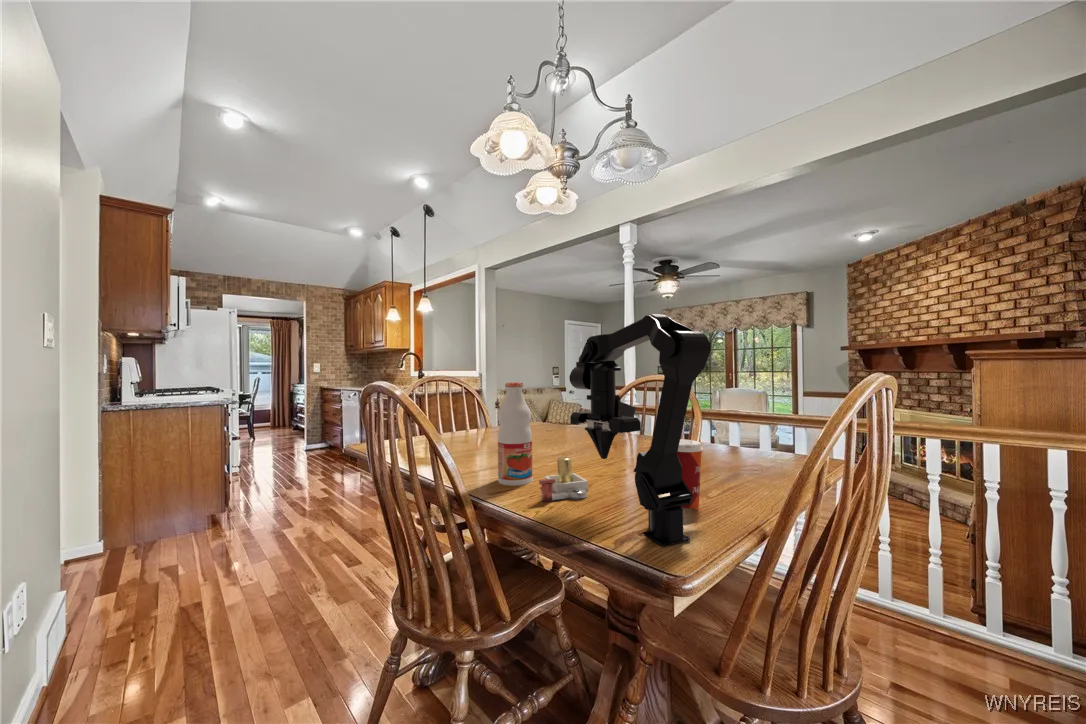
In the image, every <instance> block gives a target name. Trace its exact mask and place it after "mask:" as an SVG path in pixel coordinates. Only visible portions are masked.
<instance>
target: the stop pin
mask: <svg viewBox="0 0 1086 724" xmlns="http://www.w3.org/2000/svg"><path fill="white" fill-rule="evenodd" d="M556 464H557V475H558V480H559V484H560V483H568V482H573V479H572V473H573V467H572V465H573V464H572V458H571V457H569V456H562V457H561V456H560V457H557V458H556Z"/></svg>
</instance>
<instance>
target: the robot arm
mask: <svg viewBox="0 0 1086 724" xmlns="http://www.w3.org/2000/svg"><path fill="white" fill-rule="evenodd" d="M646 342H650V345H651V346H652V347H653V348H654V349H656V350H657V351H658V352H659V354H658V355H659V356H658V357H659V358H658V363H659V366H660V368H661V371H662V374H663V384H662V387H661V388H662V389H661V391H660V392H661V393H660V397H659V405H658V408H657V414H656V417H655V418H656V419H655V422H654V423H655V424H654V427H653V432H652V438H651V443H650V447H649V449H648V450H647V451H644V452H643V451H641V452H638V453H637V456H636V463H635V468H633V472H634V483H635V488H636V493H637V496H638V500H639V501H638V502H639V505H640V506H642V507H643V508H644V510H648V528H649V530H648V531H647V530H646V531H643V532H642V535H644V536H645V537H647V538H649V539H650V540H651V541H653V542H654V543H656V544H658V545H659V546H662V547H665V546H671V545H676V544H681V543H685V542H690V541H691V537H690V536H689V535H686V534H685V533H684V508H682V507H681V506H683V505H690V504H691V501H692V498H693V494H692V493H691V491H690V490H689V488H688V486H687V485H686V483H685V482H684V480H683V479H682V477H681V476H682V466H681V463H680V460H679V458H678V455H677V452H678V447H679V443H680V439H681V438H682V433H683V428H684V423H685V418H686V415H687V409H688V407H689V400H690V396H691V392H692V387H693V383H694V381H695V380H696V379H697V378H698V376H699V375H700V374H701V373H702V371H704V369H705V368H706V366H707V362H708V359H709V356H710V354H711V350H712V344H711V341H710V340H709V338H708V336H707V335H706V334H705V333H703V332H702V331H696V330H695V329H693V328H691V327H690V326H687V325H685V324H683V323H680V322H677V321H676V320H674V319H673V318H671V317H670V316H668V315H667V314H656V313H654V314H653V313H650V314H646V315H644V316H643V318H641V319H639V320H637V321H635V322H632V323H631V324H628V325H626V326H624V327H622V328H620V329H617V330H615V331H614V332H611V333H606V334H604V333H603V334H597V335H592V336H589V337H588V338H587V340H586V342H585V344H584V346H583V348H582V352H581V354H580V356H579V357H578V361H576V362H575V367H573V369H572V370H571V371H570V374H569V376H568V377H569V383H570V384H571V386H572V387H573V388H575V389H577V390H589V391H590V394H588V395H586V400H589V401H590V411H589V410H585V411H583V410H582V411H573V412H572V413H571V414H570V425H576V426H578V425H580V424H582V423H583V424H584V423H586V424H587V426H586V427H584V430H585V431H587V434H588V435H589V437H590V439H591V441H592V442H593V444H594V446H595V449H596V451H597V452H598V455H599V457H600V459H601V460H607V459H608V456H609V454H610V450H611V447H612V445H613V441H614V440H615V437H616V436H617V435H618V434H625V433H632V432H641V431H642V427H641V426H642V422H641V420H640V419H639V418H638V417H635V413H636V409H637V408H636V406H633V405H631V404H628V403H626V402H622V401H621V400H622V399H621V396H620V394H616V372H619V371H620V372H621V370H622V368H621V367H620V365H618V364H617V363H616V361H617V360H618V359H619V358H620V357H622V356H623V355H624V352H625V351H626V350H629V349H631V348H634V347H636V346H638V345H640V344H643V343H646ZM666 494H669V495H666ZM661 495H662V496H661ZM663 495H665V496H663ZM659 496H660V497H659Z"/></svg>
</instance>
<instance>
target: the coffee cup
mask: <svg viewBox="0 0 1086 724" xmlns="http://www.w3.org/2000/svg"><path fill="white" fill-rule="evenodd" d="M703 451H704V448H703V446H702V443H701V442H700V441H697V440H694V439H693V440H692V439H684V438H683V439H681V438H680V443H679V447H678V452H677V455H678V458H679V460H680V463H681V466H682V476H681V477H682V479H683V480H684V482H685V483H686V485H687V486H688V488H689V490H690V491H691V493H692V494H693V498H692V501H691V504H690V505H683V506H681V508H683V509H693V510H695V511H699V507H700V494H701V493H700V492H701V491H700V490H701V473H702V472H701V469H702V452H703Z"/></svg>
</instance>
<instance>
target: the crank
mask: <svg viewBox="0 0 1086 724" xmlns="http://www.w3.org/2000/svg"><path fill="white" fill-rule="evenodd" d="M538 483H539V485H540V486H541V502H543V503H551V502H553V501H557V500H564V499H566V500H567V499H570V500H575V501H578V500H584V499H587V497H588V496H587V494H588V493H587V492H588V491H586V490H584V489H580V488H572V489H568V490H566V492H561V493H554V492H553V483H555V479H545V478H544V479H539V480H538Z"/></svg>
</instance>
